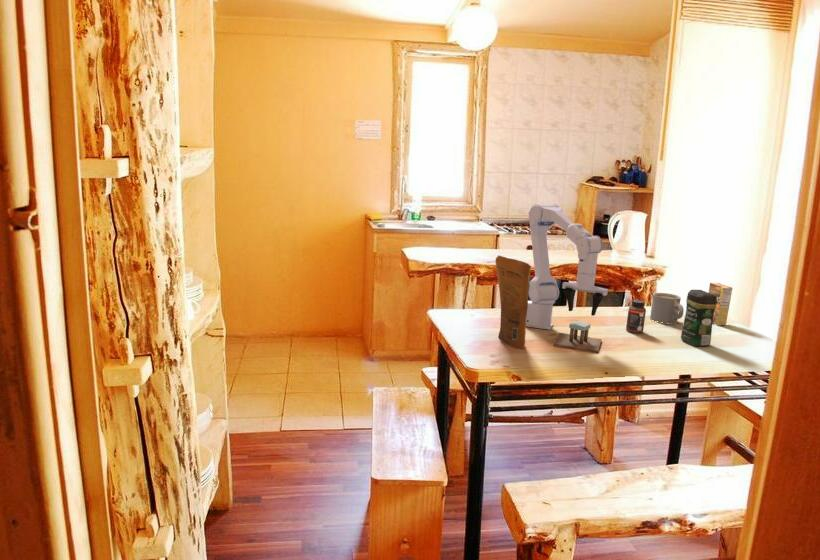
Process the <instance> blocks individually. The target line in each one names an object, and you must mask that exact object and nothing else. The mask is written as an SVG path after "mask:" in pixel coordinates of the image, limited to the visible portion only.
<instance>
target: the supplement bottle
mask: <svg viewBox="0 0 820 560" xmlns="http://www.w3.org/2000/svg"><path fill="white" fill-rule="evenodd" d="M631 304H632V305H630V306H629V307H628V311H627V318H626V326H625V330H626V331H627V332H629V333H633V334H642V333H643V332H644V328H645V321H646V320H645V319H646V313H647V309H646V308H645V301H643V300H638V299H634V300H632V301H631Z"/></svg>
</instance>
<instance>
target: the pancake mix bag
mask: <svg viewBox="0 0 820 560" xmlns="http://www.w3.org/2000/svg"><path fill="white" fill-rule="evenodd" d="M495 267H496V273H497V283H498V290H499V291H498V292H499V300H500V301H499V302H500V328H499V332H498V338H499V339H500V340H502V341H503V342H505V343H506V344H508V345H509V346H510V347H513V348H517V349H523V350H525V346H526V333H527V332H526V331H527V326H526V316H527V309H528V301H529V288H530V284H529V282H530V275H531V269H532V265H530V264H529V263H527V262H524V261H522V260H518V259H514V258H508V257H506V256H502V255H497V256H496V257H495Z"/></svg>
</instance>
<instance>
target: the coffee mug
mask: <svg viewBox="0 0 820 560" xmlns="http://www.w3.org/2000/svg"><path fill="white" fill-rule="evenodd" d="M684 310H685V309H684V306H683V304H681V296H679V295H677V294H674V293H673V294H672V293H669V292H668V293H667V292H665V293H664V292H655V293H653V295H652V303H651V309H650V316H649V317H650V318H651V319H652V320H654V321H653V322H655V321H658V322H657V323H659V322H663V323H662V324H664V323H676V324H677V323H678V320H680V319H681V318H682V317H683V316H684V312H685V311H684ZM650 318H649V319H650ZM651 319H650V320H651ZM652 320H651V321H652Z"/></svg>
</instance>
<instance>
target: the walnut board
mask: <svg viewBox="0 0 820 560" xmlns="http://www.w3.org/2000/svg"><path fill="white" fill-rule="evenodd" d="M569 337H570V333H563V332H559V333H558V335H557V337H556V339H555V340H554V342H553V347H559V348H564V349H571V350H575V351H583V352H588V351H589V353H594V352H595V353H596V354H598V353H599V349H600V347H601V344H602V341H603V340H602V338H595V337H589V336H588V339H587V342H584V341H583V344H579V342H580V335H577V339H573V342H570V341H569ZM573 337H574V335H573Z"/></svg>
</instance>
